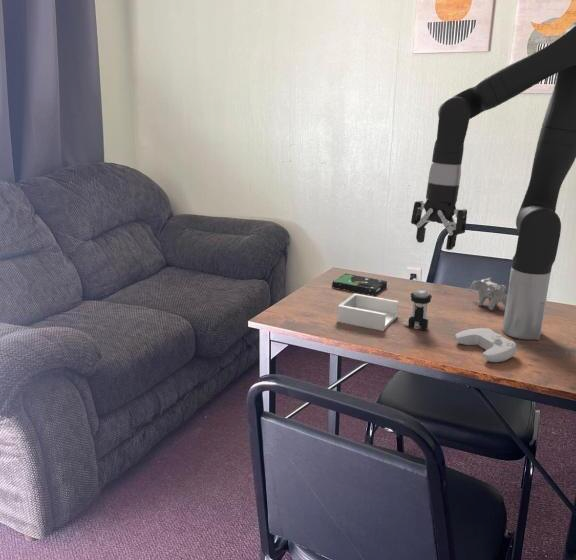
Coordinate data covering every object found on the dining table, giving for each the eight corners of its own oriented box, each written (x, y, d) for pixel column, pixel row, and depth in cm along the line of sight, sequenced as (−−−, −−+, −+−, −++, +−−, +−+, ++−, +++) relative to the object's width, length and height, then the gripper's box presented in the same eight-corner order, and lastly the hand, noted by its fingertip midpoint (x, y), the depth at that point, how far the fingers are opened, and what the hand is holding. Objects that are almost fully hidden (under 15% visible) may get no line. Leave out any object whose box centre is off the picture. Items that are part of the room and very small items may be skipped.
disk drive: (386, 289, 180) (344, 280, 187) (387, 280, 179) (345, 272, 186) (374, 298, 172) (331, 288, 179) (375, 289, 171) (331, 280, 178)
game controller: (450, 331, 138) (483, 318, 141) (451, 346, 140) (484, 334, 142) (489, 354, 125) (525, 340, 128) (490, 371, 127) (525, 357, 130)
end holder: (397, 316, 155) (398, 301, 154) (383, 331, 145) (384, 314, 143) (353, 308, 161) (354, 293, 159) (337, 321, 151) (337, 305, 149)
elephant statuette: (499, 313, 159) (502, 288, 157) (459, 304, 166) (461, 279, 164) (510, 305, 166) (514, 280, 163) (471, 296, 173) (474, 272, 171)
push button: (400, 327, 147) (403, 291, 144) (406, 321, 152) (409, 286, 149) (424, 333, 144) (428, 296, 141) (430, 326, 149) (434, 290, 146)
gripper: (477, 185, 136) (467, 250, 141) (427, 177, 145) (419, 238, 150) (461, 186, 131) (451, 254, 136) (410, 178, 140) (402, 241, 145)
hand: (434, 245), depth 143 cm, fingers open, 8 cm apart
